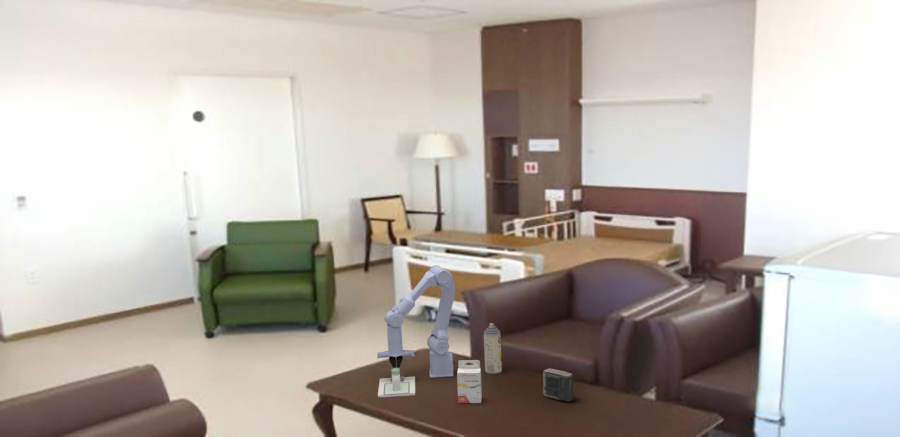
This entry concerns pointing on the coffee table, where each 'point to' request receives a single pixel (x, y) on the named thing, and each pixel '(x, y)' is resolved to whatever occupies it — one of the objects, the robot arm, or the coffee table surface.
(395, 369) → the marker
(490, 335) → the aerosol can
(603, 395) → the coffee table surface
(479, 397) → the ink cartridge box
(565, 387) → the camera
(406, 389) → the activity board
